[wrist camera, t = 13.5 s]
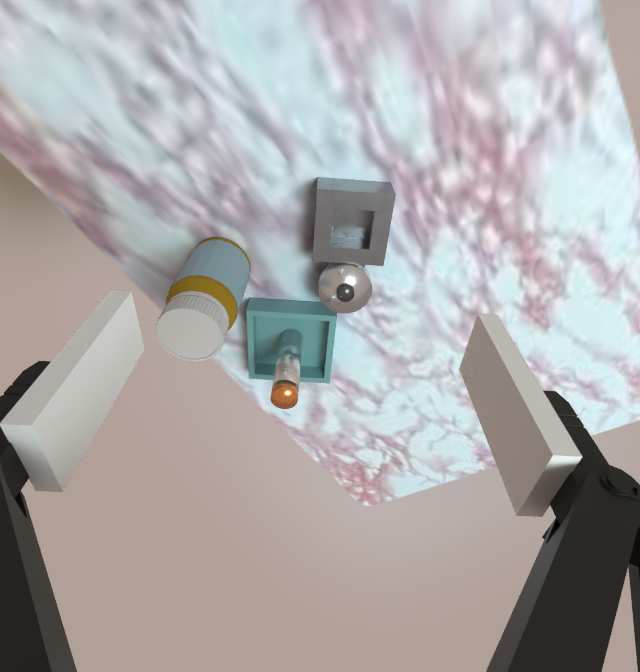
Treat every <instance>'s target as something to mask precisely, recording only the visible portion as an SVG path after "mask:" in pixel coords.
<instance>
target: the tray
mask: <svg viewBox="0 0 640 672" xmlns="http://www.w3.org/2000/svg"><path fill="white" fill-rule="evenodd" d="M246 317H247V342H248V367H249V378H251V379H267V380H274V374H275V368H276V361H277V355H278V349H279V343H280V336H281V334H282V332H283V331H285V330H287V329H295V330H297V331H299V332H300V333H301V334H302V336H303V343H302V354H301V366H300V378H299V381H300V382H317V383H330V373H331V364H332V355H333V346H334V337H335V328H336V319H337V312H334V311H332V310H330V309H328V308H327V307H326V306H325V305H324V304H323V303H322V302H309V301H294V300H278V299H263V298H250V299H249V302H248V306H247V309H246Z"/></svg>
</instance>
